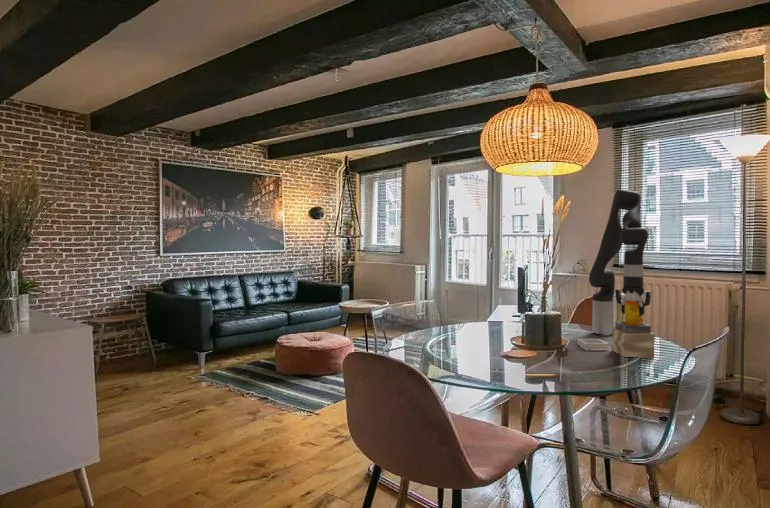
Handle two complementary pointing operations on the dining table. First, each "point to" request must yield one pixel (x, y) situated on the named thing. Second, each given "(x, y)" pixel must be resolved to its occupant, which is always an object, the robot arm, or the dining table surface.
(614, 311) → the juice carton
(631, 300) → the beer can
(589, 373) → the dining table surface
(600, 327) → the robot arm
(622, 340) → the stand
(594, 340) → the low collar
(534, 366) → the dining table surface
